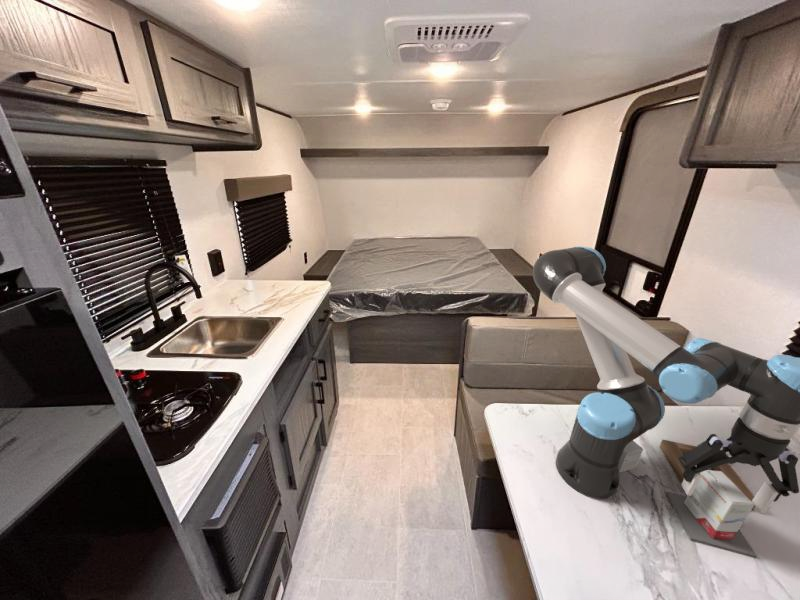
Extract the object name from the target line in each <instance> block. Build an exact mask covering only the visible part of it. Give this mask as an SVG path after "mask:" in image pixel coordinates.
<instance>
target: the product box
mask: <svg viewBox="0 0 800 600" xmlns="http://www.w3.org/2000/svg"><path fill="white" fill-rule="evenodd" d="M643 451H644V448H643V447H641V446H640V445H639V444H638V443H637V442H636V441H635V440H633V441H631V442H630V443H628V444H627V445H626V447H625V448H624V451H623V453H622V456H621V458H620V461H619V463H618V466H619V473H622V472H626V471H630V470H634V469H636V468H637V466H638V463H639V460H640V458H641V456H642V453H643Z"/></svg>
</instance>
